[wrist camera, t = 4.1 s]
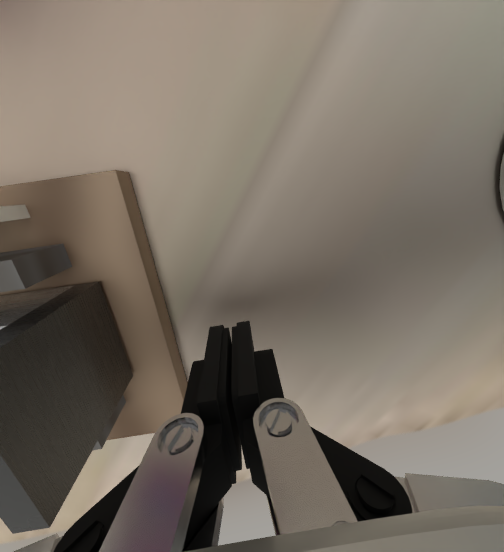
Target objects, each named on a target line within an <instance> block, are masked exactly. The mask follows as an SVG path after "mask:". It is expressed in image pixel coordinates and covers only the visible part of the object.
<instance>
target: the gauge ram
mask: <svg viewBox="0 0 504 552" xmlns="http://www.w3.org/2000/svg"><path fill="white" fill-rule="evenodd" d="M132 377H133V373H132V371H131V368H130V365H129V362H128V360H127V357H126V354H125V352H124V349H123V346H122V343H121V341H120V338H119V335H118V332H117V330H116V327H115V324H114V322H113V319H112V316H111V313H110V311H109V308H108V305H107V302H106V300H105V297H104V294H103V292H102V289H101V286H100V283H99V282H92V283H86V284H79V285H72V286H65V287H59V288H52V289H45V290H38V291H32V292H25V293H18V294H11V295H5V296H0V518H1V519H2V520H3V522H4V523H5V524H6V525H7V527H8V528H9V529H10V531H11V532H12V533H19V532H25V531H31V530H38V529H44V528H50V526H51V524H52V523H53V521H54V519H55V517H56V515H57V513H58V512H59V510H60V508H61V506H62V504H63V503H64V501H65V499H66V497H67V495H68V493H69V492H70V490H71V488H72V486H73V484H74V483H75V481H76V479H77V477H78V475H79V474H80V472H81V470H82V468H83V466H84V464H85V463H86V461H87V459H88V457H89V455H90V454H91V452H92V450H93V448H94V446H95V444H96V443H97V441H98V439H99V437H100V435H101V434H102V432H103V430H104V428H105V426H106V424H107V423H108V421H109V419H110V417H111V415H112V414H113V412H114V410H115V408H116V406H117V404H118V403H119V401H120V399H121V397H122V395H123V394H124V392H125V390H126V388H127V386H128V384H129V383H130V381H131V379H132Z"/></svg>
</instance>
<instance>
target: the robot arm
mask: <svg viewBox="0 0 504 552" xmlns="http://www.w3.org/2000/svg"><path fill="white" fill-rule="evenodd" d="M500 195H501V202H502V209H503V211H504V154H503V158H502V163H501V171H500ZM241 445H242V450H243V455H244V459H245V464H246V468H247V469H249V468H250V472H251V477H252V482H253V483H254V484H255V485H256V486H257V487H258V488H259V489H260V490H262V491H263V492H264V493H265V494H266V496H267V500H268V505H269V509H270V513H271V518H272V522H273V526H274V530H275V534H276V536H272V537H265V538H260V539H254V540H249V541H242V542H237V543H231V544H225V545H220V546H218V541H219V534H220V527H221V521H222V514H223V508H224V499H223V497H224V495H225V494H226V493H227V491H228V490H229V489H230V488H231V486H232V484H234V483H236V471H237V470H242V454H241ZM14 552H504V484H501V483H497V482H493V481H489V480H477V479H466V478H454V477H443V476H432V475H419V474H409V473H406V474H405V478H402V477H394V476H393V475H392V474H390V473H389V472H387V471H386V470H385V469H383V468H382V467H380V466H378V465H376V464H374V463H373V462H371V461H369V460H368V459H366V458H364V457H362V456H361V455H359V454H357V453H355V452H354V451H352V450H350V449H348V448H347V447H345V446H343V445H341V444H340V443H338V442H336V441H334V440H333V439H331V438H329V437H328V436H326V435H324V434H322V433H321V432H319V431H317V430H315V429H314V428H312V427H310V425H309V423H308V421H307V419H306V417H305V415H304V413H303V411H302V410H301V409H300V407H299V406H298V405H297V404H296V403H294V402H293V401H291V400H288V399H286V398H284V395H283V391H282V387H281V382H280V378H279V374H278V370H277V366H276V362H275V358H274V354H273V350H272V349H268V350H262V351H256V352H254V347H253V341H252V334H251V328H250V322H249V321H245V322H239V323H237V326H236V327H232V342H231V337H230V332H229V328H224V326H223V325H220V326H214V327H210V329H209V335H208V340H207V346H206V352H205V358H204V360H200V361H194V362H193V364H192V368H191V372H190V376H189V380H188V384H187V389H186V393H185V397H184V401H183V405H182V410H181V414H178V415H176V416H173V417H171V418H170V419H168V420H167V421H165V422H164V423H163V424H162V425H161V426H160V427H159V428H158V430H157V431H156V433H155V435H154V436H153V438H152V440H151V443H150V445H149V447H148V449H147V451H146V453H145V455H144V457H143V459H142V462H141V464H140V465H139V466H138V467H137V468H136V469H135V470H134V471H132V472H131V473H130V474H129V475H128V476H127V477H126V478H125V479H123V480H122V481H121V482H120V483H119V484H118V485H117V486H116V487H114V488H113V489H112V490H111V491H110V492H109V493H108V494H107V495H106V496H104V497H103V498H102V499H101V500H100V501H99V502H98V503H97V504H95V505H94V506H93V507H92V508H91V509H90V510H89V511H88V512H86V513H85V514H84V515H83V516H82V517H81V518H80V519H79V520H78V521H76V522H75V523H74V525H73V526H72V527H71V528H70V529H69V530H68V531H67V532H66V533H65V534H64V536H62V537H59V536H58V534H54V535H52V536H50V537H47V538H45V539H42V540H40V541H38V542H35V543H33V544H31V545H28V546H26V547H24V548H21V549H19V550H16V551H14Z"/></svg>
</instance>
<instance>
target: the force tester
mask: <svg viewBox="0 0 504 552" xmlns="http://www.w3.org/2000/svg"><path fill="white" fill-rule="evenodd" d="M92 282H99V283H100V286H101V289H102V292H103V294H104V297H105V300H106V302H107V305H108V308H109V311H110V313H111V316H112V319H113V322H114V324H115V327H116V330H117V332H118V335H119V338H120V341H121V343H122V346H123V349H124V352H125V354H126V357H127V360H128V362H129V365H130V368H131V371H132V373H133V377H132V379H131V381H130V383H129V384H128V386H127V388H126V390H125V392H124V394H123V395H122V397H121V399H120V401H119V403H118V404H117V406H116V408H115V410H114V412H113V414H112V415H111V417H110V419H109V421H108V423H107V424H106V426H105V428H104V430H103V432H102V434H101V435H100V437H99V439H98V441H97V443H96V444H95V446H94V448H93V450H97V449H102V447H103V445H104V444H105V442H106V440H111V439H117V438H124V437H130V436H137V435H143V434H149V433H156V431H157V430H158V428H159V427H160V426H161V425H162V424H163V423H164V422H165V421H167V420H168V419H170V418H171V417H173V416H176V415H178V414H181V410H182V405H183V401H184V397H185V393H186V389H187V384H188V383H187V379H186V376H185V372H184V368H183V365H182V361H181V358H180V354H179V351H178V347H177V343H176V340H175V336H174V333H173V329H172V326H171V322H170V318H169V315H168V311H167V308H166V304H165V301H164V297H163V293H162V290H161V286H160V283H159V279H158V275H157V272H156V268H155V265H154V261H153V258H152V254H151V250H150V247H149V243H148V240H147V236H146V233H145V229H144V225H143V222H142V218H141V215H140V211H139V208H138V204H137V200H136V197H135V193H134V190H133V186H132V182H131V179H130V175H129V172H124V171H117V170H113V171H106V172H99V173H92V174H85V175H78V176H71V177H64V178H57V179H50V180H43V181H36V182H29V183H22V184H15V185H8V186H0V296H5V295H11V294H18V293H25V292H32V291H38V290H45V289H52V288H59V287H65V286H72V285H79V284H86V283H92Z"/></svg>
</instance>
